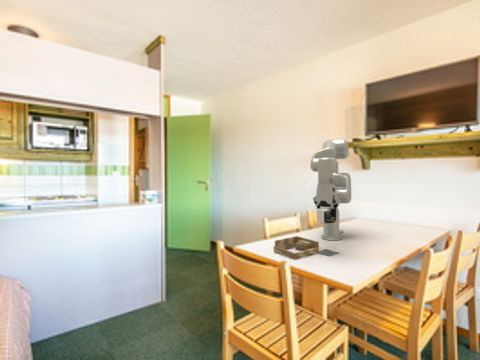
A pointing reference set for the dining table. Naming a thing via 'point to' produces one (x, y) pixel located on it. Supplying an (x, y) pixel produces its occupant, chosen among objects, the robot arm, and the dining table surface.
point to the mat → (327, 252)
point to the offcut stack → (303, 245)
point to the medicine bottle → (325, 214)
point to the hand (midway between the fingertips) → (326, 214)
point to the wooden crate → (290, 243)
